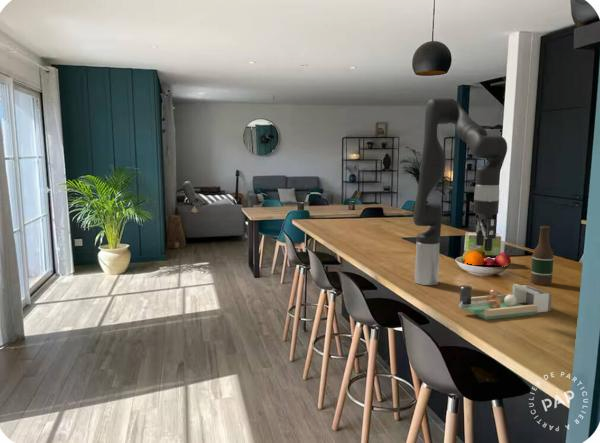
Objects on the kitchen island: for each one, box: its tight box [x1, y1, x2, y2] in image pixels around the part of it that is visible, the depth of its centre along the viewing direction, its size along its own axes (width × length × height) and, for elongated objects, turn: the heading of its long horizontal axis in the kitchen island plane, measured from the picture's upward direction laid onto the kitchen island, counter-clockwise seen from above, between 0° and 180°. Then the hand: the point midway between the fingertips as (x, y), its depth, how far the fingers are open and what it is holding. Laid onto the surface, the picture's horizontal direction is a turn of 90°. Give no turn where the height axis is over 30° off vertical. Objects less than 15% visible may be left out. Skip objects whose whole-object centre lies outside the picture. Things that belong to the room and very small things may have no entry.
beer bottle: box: [530, 225, 555, 287], centre depth 194 cm, size 8×8×24 cm
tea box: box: [463, 231, 502, 258], centre depth 231 cm, size 15×10×15 cm, turn 81°
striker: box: [458, 284, 500, 309], centre depth 159 cm, size 5×14×8 cm, turn 106°
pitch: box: [463, 293, 538, 321], centre depth 161 cm, size 14×20×3 cm
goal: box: [511, 283, 553, 313], centre depth 165 cm, size 11×6×7 cm, turn 16°
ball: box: [504, 294, 517, 306], centre depth 163 cm, size 4×4×4 cm
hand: (483, 248), depth 154 cm, fingers open, 8 cm apart
